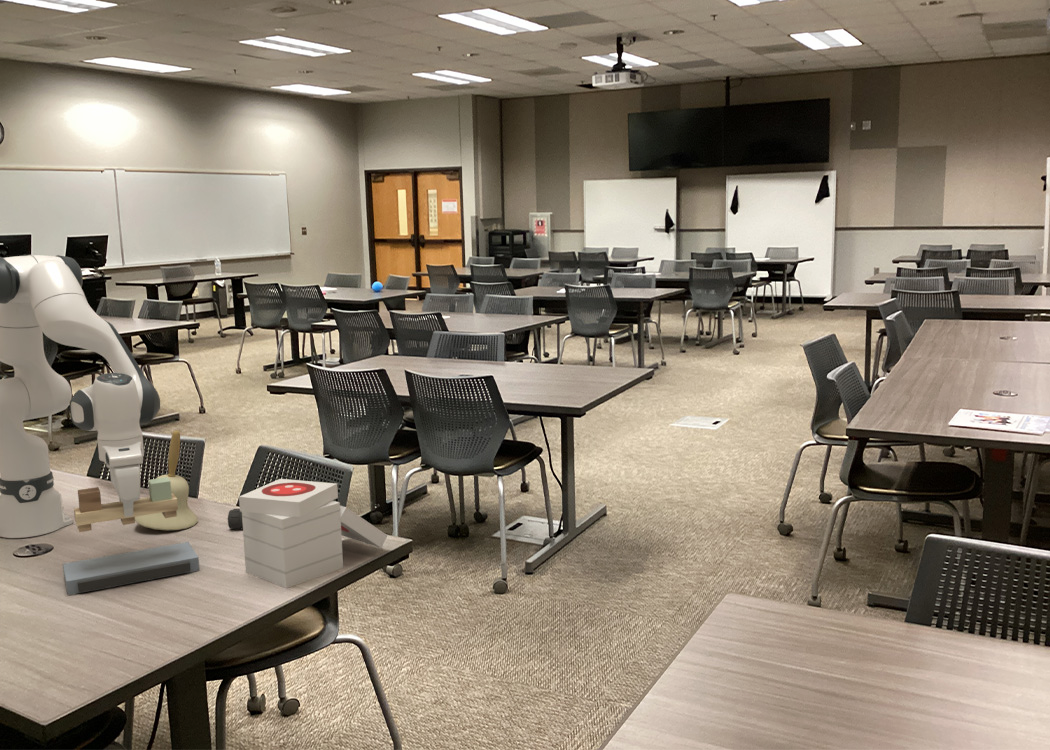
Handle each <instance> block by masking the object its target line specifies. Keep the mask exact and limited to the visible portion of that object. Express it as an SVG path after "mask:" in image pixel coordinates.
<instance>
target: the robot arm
mask: <svg viewBox="0 0 1050 750" xmlns="http://www.w3.org/2000/svg"><path fill="white" fill-rule="evenodd" d="M83 280H84V279H83V272H82V268H81V266H80V265H79V263H78V262H77V261H76V259H74V258H72V257H69V256H64V255H59V254H57V255H45V254H44V255H43V254H28V255H19V256H18V255H17V256H9V257H8V256H7V257H2V256H0V362H1V363H3V364H6V365H8V366H11V367H12V368H13V371H14V374H13V377H8V378H2V379H1V378H0V493H1V494H0V538H1V537H2V538H7V539H20V538H30V537H36V536H37V537H38V536H41V535H45V534H49V533H52V532H55V531H58V530H60V529H61V528H63V527H67V526H69V525H72V524H74V520H73V518H71V517H70V516H69V515H67V514H66V513H65V512H64V506H63V505H64V504H63V498H62V493H61V492H60V491H58V490H57V489H56V488H54V486H55V483H54V480H55V479H54V475H53V471H51V464H50V456H49V455H50V454H49V453H50V452H49V447H48V443H47V442H46V441H45V440H44V439H43V438H42V437H40V436H39V435H35V434H33V433H29V432H27V431H26V430H25V427H24V421H29V420H34V419H38V418H39V419H40V418H45V417H50V416H52V415H55V414H57V413H60V412H62V411H65V410H66V409H68V407H69V414H70V415H69V416H70V419H71V422H72V423H73V425H75V427H77V428H79V429H81V430H82V431H85V432H87V431H88V432H94V431H97V437H96V439H97V448H98V459H99V461H100V462H104V463H105V465H106V468H108V469H109V474H110V482H111V484H112V486H113V487H114V489H115V492H116V494H117V496H118V500H119V502H120V501H121V502H123V511H124V516H125V517H130V516H133V514H134V513H133V504H134V501H137V500H139V499H140V497H141V464H143V463H144V458H143V457H144V455H145V450H144V448H145V447H144V438H143V431H142V428H141V425H149V424H150V423H151V422H152V421H153V420H154V418H156V416H157V415H158V413H159V411H160V409H161V398H160V395H159V392H158V391H157V389H156V387H155V386H154V385H153V384H152V383H151V382H150V381H151V380H149V379H148V378H147V377H146V375H145V374H144V372H143V371H142V369H141V368H140V366H139V364H138V363H137V361H136V360H135V358H134V355H133V354H132V353H131V351H130V349H129V347H128V346H127V344H126V343H125V340H124V339H123V338H122V336H121V335H120V334H119V332H118V330H117V329H116V328H115V326H114V325H113V324H112V323H111V322H109V321H107V320H105V319H103V318H102V317H101V316H99V315H98V314H97V313H96V312H95V310H94V309H93V308H92V307H91V306H90V304H89V303H88V300H87V297H86V295H85V292H84V290H83V289H82V287H83V282H84V281H83ZM43 334H44V335H45V336H46V337H47V338H48V339H50V340H51V341H54V342H55V343H58V344H60V345H64V346H68V347H73V348H74V347H75V348H79V349H85V350H88V351H92V352H94V353H96V354H98V355H100V356H102V357H103V358H104V360H106V362H107V363H108V364H109V366H110V368H111V370H112V371H113V372H107V373H102V374H99V375H98V376H96V378H94V381H93V383H92V384H91V385H89V386H87V387H84V388H81V389H78V390H77V391H75V392H74V394H72V393H73V392H72V388H71V385H70V383H69V381H68V380H67V379H66V378H65V377H64V376H63V375H61V374H59V373H57V372H56V371H55V369H53V368H52V366H51V365H50V364H49V362H48V360H47V358H46V354H45V350H44V349H45V348H44V336H43ZM72 395H73V396H72Z"/></svg>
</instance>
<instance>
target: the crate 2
mask: <svg viewBox="0 0 1050 750" xmlns="http://www.w3.org/2000/svg"><path fill="white" fill-rule="evenodd" d="M148 494H149V496H148V497H150V499H151V501H152V502H156V501H162V500H169V499H172V494H171V482H170V480H169V479H168V477H166V478H159V479H156V478H153V479H152V478H151V479H148Z"/></svg>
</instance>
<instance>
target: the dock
mask: <svg viewBox="0 0 1050 750" xmlns="http://www.w3.org/2000/svg"><path fill="white" fill-rule="evenodd" d="M190 543H191V542H190V541H186V542H185V541H184V542H180V543H175V544H174V543H173V544H167V545H162V546H156V547H150V548H145V549H140V550H134V551H128V552H124V553H123V552H121V553H117V554H110V555H106V556H105V555H103V556H99V557H93V558H88V559H82V560H76V561H71V562H66V563H64V562H63V563H62V569H63V578H64V583H65V589H66V593H67V596H70V595H71V596H72V595H77V594H81V593H87V592H92V591H93V592H94V591H98V590H103V589H108V588H113V587H114V588H115V587H119V586H124V585H125V586H126V585H130V584H134V583H140V582H144V581H145V582H146V581H150V580H156V579H160V578H167V577H171V576H172V577H173V576H176V575H177V576H178V575H181V574H187V573H192V572H197V571H200V559H199V555H198V554H197V553H196V551H195V550H194V548H193V546H192V545H191V544H190Z"/></svg>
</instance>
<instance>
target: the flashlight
mask: <svg viewBox="0 0 1050 750" xmlns="http://www.w3.org/2000/svg"><path fill="white" fill-rule="evenodd" d="M227 526H228V528H229V529H232V530H234V531H235V530H243V522H242V511H240V508H233V509H230V510H229V511H228V514H227Z"/></svg>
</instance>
